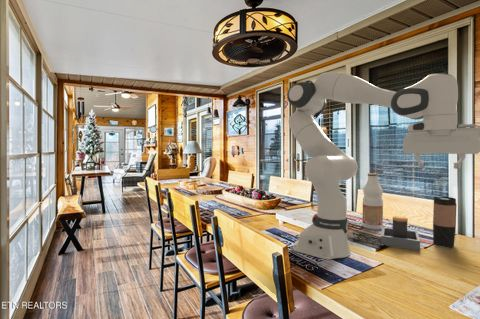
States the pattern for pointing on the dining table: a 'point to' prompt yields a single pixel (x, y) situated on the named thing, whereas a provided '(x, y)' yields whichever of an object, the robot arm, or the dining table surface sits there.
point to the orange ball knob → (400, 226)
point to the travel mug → (444, 221)
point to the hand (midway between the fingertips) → (438, 168)
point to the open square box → (400, 239)
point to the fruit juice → (373, 203)
